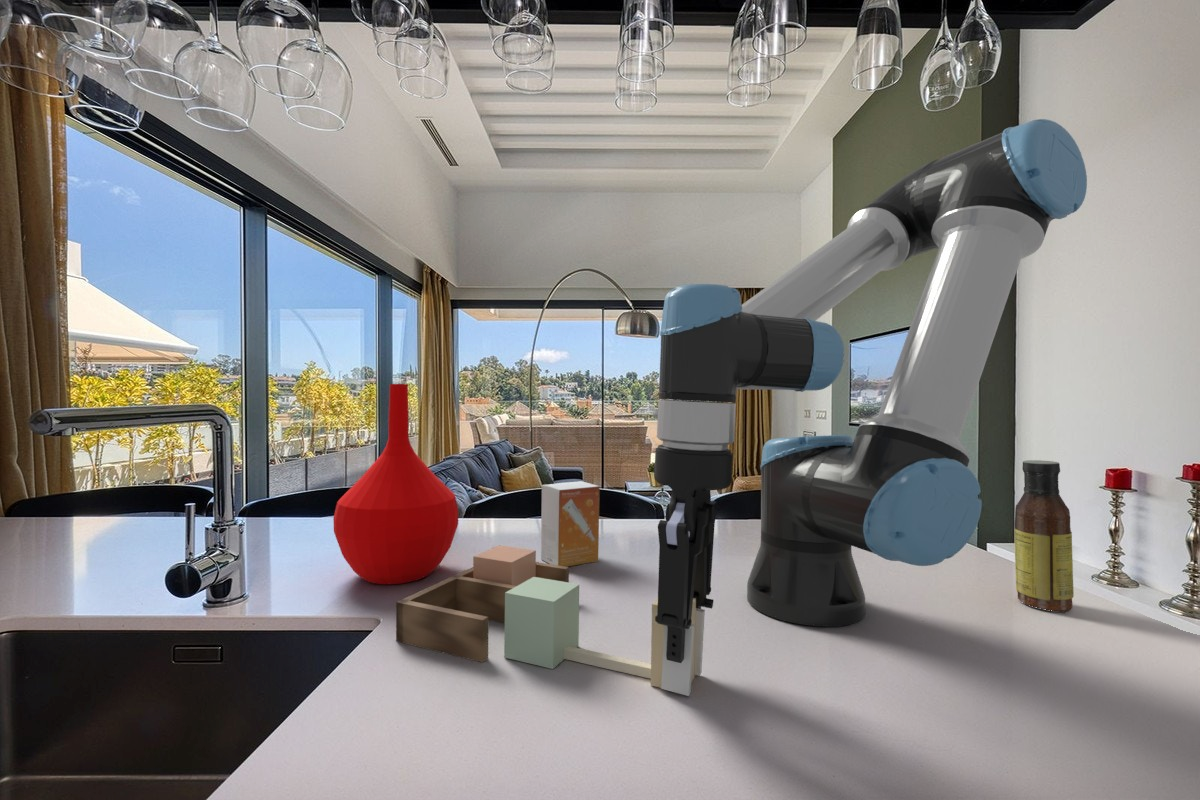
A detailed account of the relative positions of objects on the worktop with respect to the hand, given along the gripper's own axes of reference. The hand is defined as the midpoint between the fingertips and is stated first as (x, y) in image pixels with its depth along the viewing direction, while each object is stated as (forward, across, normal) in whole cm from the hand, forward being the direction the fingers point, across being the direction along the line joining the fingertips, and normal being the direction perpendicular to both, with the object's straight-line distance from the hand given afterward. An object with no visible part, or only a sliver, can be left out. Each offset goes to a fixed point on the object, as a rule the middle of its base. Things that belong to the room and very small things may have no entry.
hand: (682, 679), depth 55 cm
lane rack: (+1, -5, -26) cm, 27 cm away
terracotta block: (+1, -10, -27) cm, 29 cm away
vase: (+2, -13, -49) cm, 51 cm away
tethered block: (+1, 0, -9) cm, 9 cm away
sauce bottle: (-1, -41, +39) cm, 57 cm away
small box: (+1, -31, -29) cm, 42 cm away
